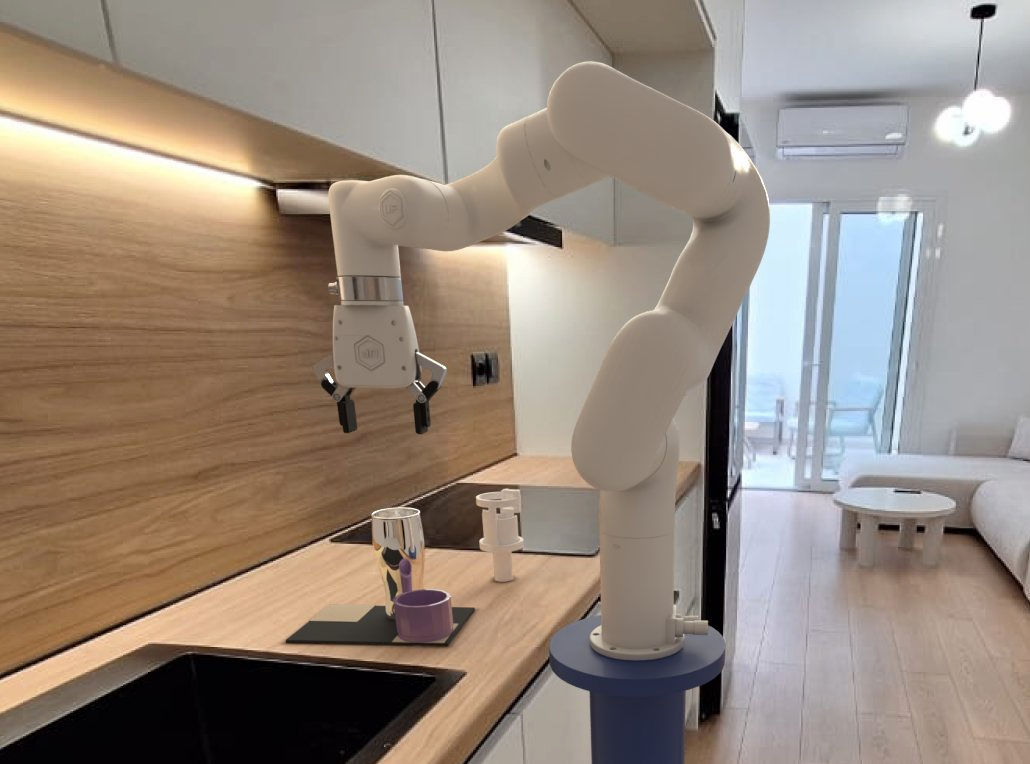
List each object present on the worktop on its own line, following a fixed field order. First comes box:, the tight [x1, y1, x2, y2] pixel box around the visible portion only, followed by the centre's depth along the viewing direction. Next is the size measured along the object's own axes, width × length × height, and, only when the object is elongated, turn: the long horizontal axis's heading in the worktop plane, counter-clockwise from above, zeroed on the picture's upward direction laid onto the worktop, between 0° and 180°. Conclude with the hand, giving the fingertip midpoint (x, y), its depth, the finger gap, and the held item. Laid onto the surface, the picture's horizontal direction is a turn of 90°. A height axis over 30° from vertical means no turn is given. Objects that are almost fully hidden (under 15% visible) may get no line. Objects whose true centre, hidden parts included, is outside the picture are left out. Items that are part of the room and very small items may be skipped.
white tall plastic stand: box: [475, 488, 525, 583], centre depth 131 cm, size 7×7×15 cm
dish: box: [393, 588, 453, 642], centre depth 109 cm, size 7×7×5 cm
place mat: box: [285, 603, 476, 647], centre depth 114 cm, size 22×14×1 cm, turn 87°
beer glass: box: [370, 507, 426, 621], centre depth 114 cm, size 7×7×15 cm
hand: (386, 432), depth 107 cm, fingers open, 9 cm apart
